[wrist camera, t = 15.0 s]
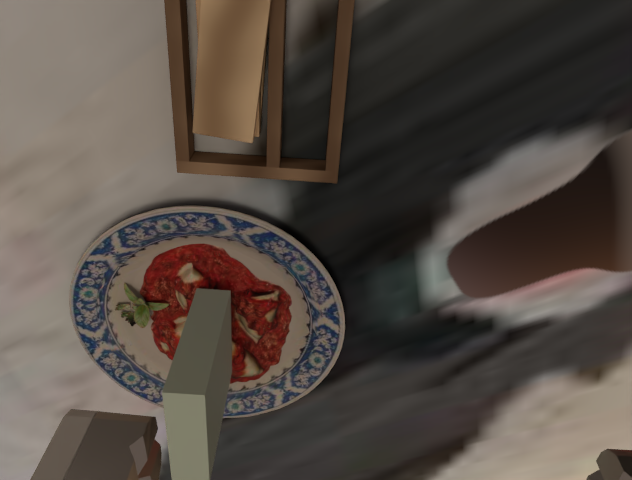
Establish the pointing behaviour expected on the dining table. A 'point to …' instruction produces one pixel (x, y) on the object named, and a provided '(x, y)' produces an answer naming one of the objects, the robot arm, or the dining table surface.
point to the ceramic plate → (208, 273)
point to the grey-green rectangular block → (199, 385)
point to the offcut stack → (230, 67)
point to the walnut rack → (273, 162)
